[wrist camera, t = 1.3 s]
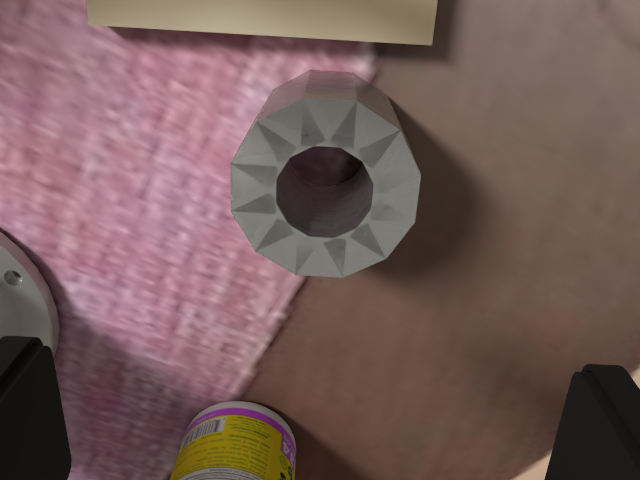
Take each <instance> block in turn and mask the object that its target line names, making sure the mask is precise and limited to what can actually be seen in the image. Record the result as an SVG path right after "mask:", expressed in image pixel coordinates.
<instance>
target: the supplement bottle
mask: <svg viewBox="0 0 640 480" xmlns="http://www.w3.org/2000/svg"><path fill="white" fill-rule="evenodd" d="M295 466H296V443H295V439H294V436H293V433H292V431H291V429H290V428H289V426H288V425H287V423H286V422H285V421H284V420H283V419H282V418H281V417H280V416H279V415H278V414H276V413H275V412H273V411H272V410H270V409H268V408H266V407H264V406H262V405H259V404H256V403H252V402H244V401H228V402H222V403H218V404H215V405H213V406H210V407H208V408H206V409H205V410H203V411H202V412H200V413H199V414H198V415H197V416H196V417H195V418H194V419H193V420H192V421H191V423H190V424H189V426H188V427H187V429H186V432H185V434H184V437H183V440H182V443H181V446H180V450H179V453H178V456H177V459H176V462H175V465H174V468H173V471H172V474H171V477H170V480H294V478H295Z"/></svg>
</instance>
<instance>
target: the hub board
mask: <svg viewBox="0 0 640 480" xmlns="http://www.w3.org/2000/svg"><path fill="white" fill-rule="evenodd" d="M437 2H438V0H86V6H87V16H88V25H97V26H113V27H130V28H147V29H164V30H181V31H197V32H214V33H231V34H248V35H265V36H282V37H298V38H315V39H332V40H349V41H366V42H382V43H399V44H416V45H432V41H433V33H434V26H435V18H436V10H437Z"/></svg>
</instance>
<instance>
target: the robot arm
mask: <svg viewBox="0 0 640 480" xmlns="http://www.w3.org/2000/svg"><path fill="white" fill-rule="evenodd" d="M58 340H59V320H58V314H57V308H56V305H55V302H54V300H53V297H52V294H51V292H50V289H49V287H48V285H47V284H46V282H45V280H44V278H43V277H42V275H41V273H40V272H39V270H38V268H37V267H36V266H35V265H34V264H33V263H32V261H31V260H30V259H29V258H28V257H27V256H26V254H25V253H24V252H23V251H22V250H21V249H20V248H19V247H18V246H17V245H15V244H14V243H13V242H12V241H11V240H10V239H9V238H7V237H6V236H5V235H4V234H3V233H1V232H0V480H67V479H68V477H69V473H70V469H71V454H70V448H69V443H68V437H67V432H66V426H65V420H64V415H63V409H62V404H61V398H60V392H59V387H58V381H57V376H56V370H55V365H54V356H55V353H56V350H57V347H58ZM545 480H640V389H639V388H638V387H637V385H636V384H635V382H634V381H633V379H632V378H631V377H630V375H629V374H628V372H627V371H626V370H625V369H624V368H623V367H622V366H618V365H597V364H588V365H585V367H584V368H583V370H582V372H575V373H574V374H573V376H572V379H571V383H570V387H569V390H568V394H567V398H566V402H565V405H564V409H563V413H562V416H561V420H560V424H559V428H558V431H557V435H556V439H555V443H554V446H553V450H552V454H551V458H550V462H549V465H548V469H547V473H546V476H545Z"/></svg>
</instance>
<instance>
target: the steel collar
mask: <svg viewBox="0 0 640 480" xmlns="http://www.w3.org/2000/svg"><path fill="white" fill-rule="evenodd" d="M313 146H323V147H340V148H342V149H344V150H345V151H347V152H348V153H350V154H351V155H353V156H354V157H356V158H357V159H359V160H361V161H362V162H363V164H362V166H361V167H360V169H359V170H358V171H357V173H356V174H355V176H354V177H353V178H351V179H349V180H346V181H344V182H342V183H340V184H338V185H336V186H329V185H315V184H313V183H311V182H310V181H308V180H307V179H305V178H303V177H302V176H300V175H299V174H298V173H297V172H296V170H295V168H294V166H293V164H292V162H291V161H290V157H292V156H294V155H296V154H298V153H300V152H302V151H304V150H307V149H309V148H311V147H313ZM420 180H421V173H420V171H419V168H418V166H417V163H416V161H415V158H414V155H413V153H412V150H411V148H410V145H409V143H408V140H407V138H406V135H405V133H404V131H403V129H402V126H401V124H400V122H399V120H398V118H397V115H396V113H395V111H394V109H393V107H392V104H391V102H390V100H389V98H388V96H387V95H385V94H384V93H382V92H381V91H379V90H378V89H376V88H375V87H373V86H372V85H370V84H369V83H367V82H366V81H365V80H363V79H362V78H360V77H359V76H357V75H356V74H354V73H350V72H333V71H316V70H310V71H308V72H306V73H304V74H302V75H300V76H298V77H296V78H294V79H293V80H291V81H289V82H287V83H285V84H283V85H281V86H279V87H277V88H275V89H273V91H272V92H271V94H270V96H269V97H268V99H267V101H266V102H265V104H264V105H263V107H262V109H261V110H260V112H259V114H258V115H257V117H256V119H255V120H254V122H253V124H252V125H251V127H250V129H249V131H248V132H247V134H246V136H245V138H244V140H243V142H242V143H241V145H240V147H239V149H238V151H237V153H236V154H235V156H234V158H233V160H232V162H231V212H232V214H233V215H234V217H235V219H236V220H237V222H238V224H239V225H240V227H241V228H242V230H243V232H244V233H245V235H246V237H247V238H248V240H249V242H250V243H251V245H252V247H253V248H254V250H255V251H256V252H258V253H259V254H261V255H263V256H265V257H266V258H268V259H270V260H271V261H273V262H275V263H277V264H278V265H280V266H282V267H283V268H285V269H287V270H289V271H290V272H292V273H294V274H295V275H308V276H325V277H341V278H343V277H345V276H348V275H350V274H352V273H355V272H357V271H359V270H362V269H364V268H366V267H369V266H371V265H373V264H376V263H378V262H380V261H383V260H385V259H386V258H387V257H388V256H389V255H390V253H391V252H392V251H393V250H394V248H395V247H396V246H397V244H398V243H399V242H400V241H401V239H402V238H403V237H404V236H405V234H406V233H407V232H408V231H409V229H410V228H411V227H412V225H413V224H414V223H415V218H416V211H417V203H418V195H419V188H420Z"/></svg>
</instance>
